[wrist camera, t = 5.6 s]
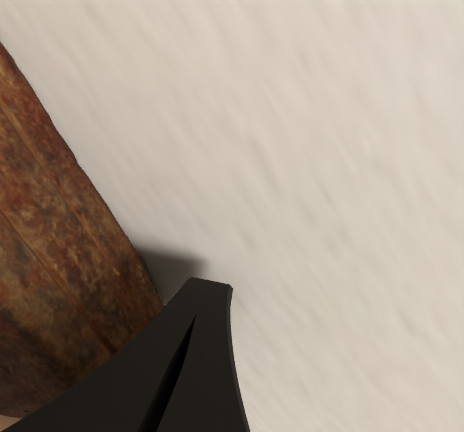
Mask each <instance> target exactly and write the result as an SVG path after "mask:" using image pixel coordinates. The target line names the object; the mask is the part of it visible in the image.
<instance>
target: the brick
mask: <svg viewBox="0 0 464 432" xmlns="http://www.w3.org/2000/svg"><path fill="white" fill-rule="evenodd" d="M163 308H164V305H163V303H162V301H161V299H160V297H159V295H158V293H157V292H156V290H155V288H154V286H153V284H152V282H151V280H150V279H149V276H148V274H147V272H146V269H145V267H144V264H143V262H142V261H141V259H140V257H139V255H138V253H137V252H136V250H135V248H134V247H133V245H132V244H131V242H130V241H129V239H128V237H127V236H126V234H125V233H124V231H123V230H122V228H121V227H120V225H119V224H118V222H117V221H116V219H115V217H114V216H113V214H112V212H111V211H110V209H109V207H108V206H107V204H106V203H105V201H104V200H103V198H102V197H101V196H100V194H99V193H98V191H97V190H96V188H95V187H94V185H93V184H92V182H91V180H90V179H89V177H88V176H87V175H86V174H85V172H84V171H83V170H82V169H81V167H80V166H79V165H78V163H77V160H76V158H75V156H74V154H73V152H72V151H71V150H70V148H69V146H68V145H67V143H66V142H65V141H64V139H63V138H62V136H61V135H60V134H59V133H58V131H57V130H56V128H55V126H54V125H53V123H52V121H51V119H50V116H49V114H48V113H47V112H46V110H45V109H44V107H43V105H42V104H41V102H40V100H39V99H38V97H37V95H36V94H35V92H34V90H33V89H32V87H31V86H30V84H29V83H28V81H27V79H26V78H25V77H24V75H23V74H22V73H21V71H20V70H19V69H18V67H17V65H16V63H15V61H14V60H13V58H12V57H11V55H10V54H9V53H8V51H7V50H6V49H5V48H4V46H3V45H2V44H1V42H0V415H4V416H7V417H13V418H21V419H22V418H24V417H25V416H27V415H29V414H30V413H32V412H34V411H35V410H37V409H39V408H40V407H42V406H44V405H45V404H47V403H48V402H50V401H51V400H53V399H55V398H56V397H57V396H59V395H60V394H62V393H63V392H65V391H66V390H68V389H69V388H71V387H72V386H73V385H75V384H76V383H78V382H79V381H80V380H82V379H83V378H85V377H86V376H87V375H89V374H90V373H91V372H93V371H94V370H95V369H97V368H98V367H99V366H100V365H102V364H103V363H104V362H106V361H107V360H108V359H109V358H111V357H112V356H113V355H114V354H115V353H117V352H118V351H119V350H120V349H121V348H122V347H124V346H125V345H126V344H127V343H128V342H129V341H130V340H131V339H132V338H133V337H135V336H136V335H137V334H138V333H139V332H140V331H141V330H142V329H143V328H144V327H145V326H146V325H147V324H148V323H149V322H150V321H151V320H152V319H153V318H154V317H155V316H156V315H157V314H158V313H159V312H160V311H161V310H162V309H163Z"/></svg>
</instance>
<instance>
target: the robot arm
mask: <svg viewBox="0 0 464 432" xmlns="http://www.w3.org/2000/svg"><path fill="white" fill-rule="evenodd" d="M232 292H233V288H232V287H231V286H230V285H229V284H224V283H219V282H215V281H210V280H205V279H200V278H195V277H191V278H189V279H188V280H187V281H186V283H185V284H184V285H183V287H182V288H181V289H180V290H179V291H178V293H177V294H176V295H175V296H174V297H173V298H172V299H171V301H170V302H169V303H168V304H167V305H166V306H165V307H164V308H163V309H162V310H161V311H160V312H159V313H158V314H157V315H156V316H155V317H154V318H153V319H152V320H151V321H150V322H149V323H148V324H147V325H146V326H145V327H144V328H143V329H142V330H141V331H140V332H139V333H138V334H137V335H136V336H135V337H133V338H132V339H131V340H130V341H129V342H128V343H127V344H126V345H125V346H124V347H122V348H121V349H120V350H119V351H118V352H117V353H115V354H114V355H113V356H112V357H111V358H109V359H108V360H107V361H106V362H104V363H103V364H102V365H100V366H99V367H98V368H97V369H95V370H94V371H93V372H91V373H90V374H89V375H87V376H86V377H85V378H83V379H82V380H80V381H79V382H78V383H76V384H75V385H73V386H72V387H71V388H69V389H68V390H66V391H65V392H63V393H62V394H60V395H59V396H57V397H56V398H55V399H53V400H51V401H50V402H48V403H47V404H45V405H44V406H42V407H40V408H39V409H37V410H35V411H34V412H32V413H30V414H29V415H27V416H25V417H24V418H22V419H21V420H19V421H17V422H16V423H14V424H12V425H11V426H9V427H7V428H6V429H4V430H2V431H0V432H250V429H249V425H248V421H247V418H246V414H245V410H244V406H243V402H242V398H241V393H240V388H239V383H238V378H237V373H236V367H235V361H234V354H233V346H232V336H231V324H230V305H231V299H232Z"/></svg>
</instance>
